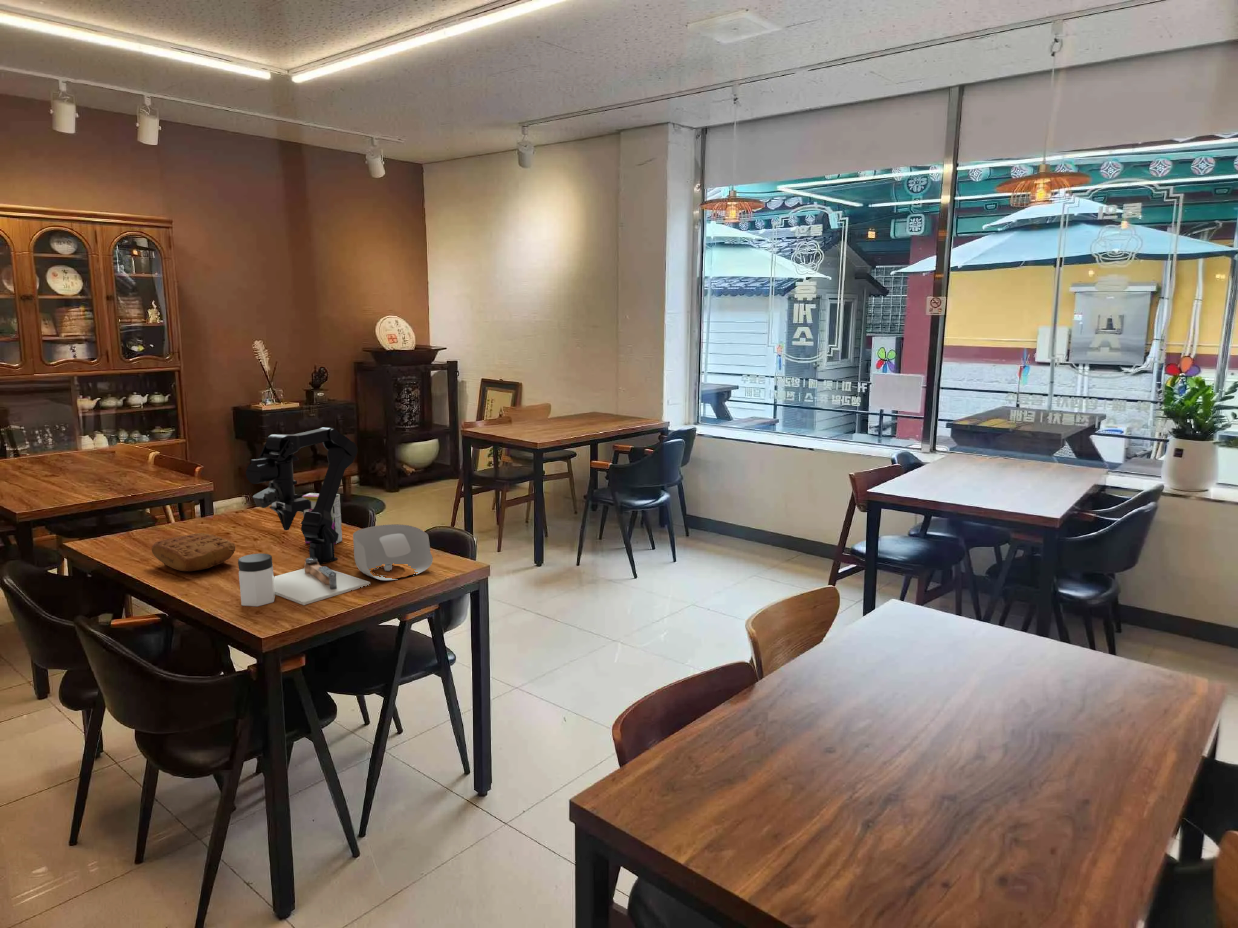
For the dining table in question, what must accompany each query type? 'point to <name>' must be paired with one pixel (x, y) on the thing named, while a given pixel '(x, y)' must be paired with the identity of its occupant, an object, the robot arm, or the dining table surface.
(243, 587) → the jar
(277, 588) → the hinge board
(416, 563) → the gray curved shell
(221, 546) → the inscribed clay slab
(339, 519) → the candy bar box
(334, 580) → the keeper
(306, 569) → the link
